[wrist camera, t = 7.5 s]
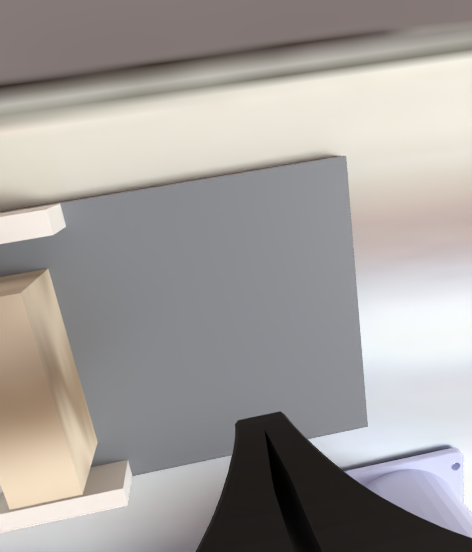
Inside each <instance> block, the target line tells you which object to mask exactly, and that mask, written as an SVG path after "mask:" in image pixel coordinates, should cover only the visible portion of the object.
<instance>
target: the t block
mask: <svg viewBox="0 0 472 552" xmlns="http://www.w3.org/2000/svg"><path fill="white" fill-rule="evenodd" d="M97 443H98V442H97V438H96V435H95V431H94V428H93V424H92V421H91V417H90V414H89V410H88V407H87V403H86V400H85V396H84V393H83V389H82V386H81V382H80V379H79V375H78V372H77V368H76V365H75V361H74V358H73V354H72V351H71V347H70V343H69V340H68V336H67V333H66V329H65V326H64V322H63V319H62V315H61V312H60V308H59V305H58V301H57V298H56V294H55V291H54V287H53V284H52V280H51V277H50V273H49V270H48V269H43V270H38V271H32V272H26V273H21V274H15V275H9V276H3V277H0V485H1V488H2V490H3V493H4V496H5V498H6V501H7V504H8V507H9V509H10V510H11V509H16V508H21V507H25V506H30V505H35V504H39V503H44V502H49V501H54V500H58V499H63V498H68V497H73V496H77V495H82V494H83V491H84V488H85V484H86V481H87V477H88V474H89V470H90V467H91V463H92V460H93V457H94V453H95V450H96V446H97Z"/></svg>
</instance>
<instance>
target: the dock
mask: <svg viewBox="0 0 472 552" xmlns="http://www.w3.org/2000/svg"><path fill="white" fill-rule="evenodd" d="M65 227H66V224H65V221H64V217H63V213H62V209H61V206H60V204H54V205H48V206H42V207H36V208H30V209H24V210H18V211H11V212H5V213H0V244H4V243H10V242H16V241H22V240H28V239H33V238H39V237H45V236H51V235H54V234H56V233H57V232H59V231H60V230H62V229H63V228H65ZM131 481H132V473H131V469H130V465H129V462H128V460H124V461H119V462H114V463H110V464H105V465H100V466H95V467H90V470H89V474H88V477H87V481H86V484H85V488H84V491H83V494H82V495H77V496H73V497H68V498H63V499H58V500H54V501H49V502H44V503H39V504H35V505H30V506H25V507H21V508H16V509H11V510H10V509H9V507H8V504H7V501H6V498H5V496H4V493H3V490H2V488H1V485H0V533H3V532H8V531H13V530H17V529H22V528H26V527H31V526H36V525H40V524H45V523H50V522H54V521H59V520H64V519H68V518H73V517H78V516H82V515H87V514H92V513H96V512H101V511H106V510H110V509H115V508H120V507H124V506H128V501H129V495H130V488H131Z"/></svg>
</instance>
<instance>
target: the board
mask: <svg viewBox="0 0 472 552" xmlns="http://www.w3.org/2000/svg"><path fill="white" fill-rule="evenodd" d="M54 204H60V206H61V209H62V213H63V217H64V221H65V224H66V227H65V228H63V229H62V230H60V231H59V232H57V233H56V234H54V235H51V236H45V237H39V238H33V239H28V240H22V241H16V242H10V243H4V244H0V277H3V276H9V275H15V274H21V273H26V272H32V271H38V270H43V269H48V270H49V273H50V277H51V280H52V284H53V287H54V291H55V294H56V298H57V301H58V305H59V308H60V312H61V315H62V319H63V322H64V326H65V329H66V333H67V336H68V340H69V343H70V347H71V351H72V354H73V358H74V361H75V365H76V368H77V372H78V375H79V379H80V382H81V386H82V389H83V393H84V396H85V400H86V403H87V407H88V410H89V414H90V417H91V421H92V424H93V428H94V431H95V435H96V438H97V442H98V443H97V446H96V450H95V453H94V457H93V460H92V463H91V467H95V466H100V465H105V464H110V463H114V462H119V461H124V460H128V462H129V465H130V469H131V473H132V476H135V475H139V474H144V473H149V472H154V471H158V470H163V469H168V468H173V467H177V466H182V465H187V464H192V463H196V462H201V461H206V460H211V459H215V458H220V457H225V456H230V455H232V453H233V448H234V441H235V424H236V422H237V421H238V420H241V419H246V418H251V417H256V416H260V415H265V414H270V413H275V412H279V411H281V412H282V413H284V414H285V415H286V416H287V418H288V419H289V420H290V421H291V422H292V424H293V425H294V426H295V427H296V428H297V429H298V430H299V431H300V432H301V433H302V434H303V435H304V436H305V437H306V438H307V439H311V438H315V437H320V436H325V435H330V434H334V433H339V432H344V431H349V430H353V429H358V428H363V427H368V423H367V411H366V399H365V386H364V374H363V361H362V349H361V336H360V324H359V311H358V299H357V286H356V274H355V261H354V249H353V236H352V224H351V212H350V199H349V187H348V174H347V162H346V156H336V157H330V158H324V159H318V160H312V161H306V162H300V163H294V164H288V165H282V166H276V167H270V168H264V169H258V170H252V171H246V172H240V173H234V174H228V175H221V176H215V177H209V178H203V179H197V180H191V181H185V182H179V183H173V184H167V185H161V186H155V187H149V188H143V189H137V190H131V191H125V192H119V193H113V194H107V195H101V196H94V197H88V198H82V199H76V200H70V201H64V202H58V203H52V204H46V205H40V206H34V207H28V208H22V209H16V210H10V211H4V212H0V213H5V212H11V211H18V210H24V209H30V208H36V207H42V206H48V205H54Z"/></svg>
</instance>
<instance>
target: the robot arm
mask: <svg viewBox="0 0 472 552" xmlns="http://www.w3.org/2000/svg"><path fill="white" fill-rule="evenodd" d="M454 463H455V464H454ZM453 464H454V465H453ZM452 465H453V466H452ZM196 552H472V513H471V511H470V510H469V509H468V508H467V506H466V505H465V504H464V457H463V454H462V453H461V452H460V451H459V449H457V448H449V449H445V450H440V451H436V452H431V453H426V454H422V455H417V456H412V457H408V458H403V459H399V460H394V461H389V462H385V463H380V464H376V465H371V466H366V467H362V468H357V469H353V470H348V471H343V470H342V469H340V468H339V467H338V466H337V465H335V464H334V463H333V462H332V461H331V460H329V459H328V458H327V457H326V456H325V455H324V454H323V453H321V452H320V451H319V450H318V449H317V448H316V447H315V446H314V445H313V444H312V443H311V442H310V441H309V440H308V439H307V438H306V437H305V436H304V435H303V434H302V433H301V432H300V431H299V430H298V429H297V428H296V427H295V426H294V425H293V424H292V422H291V421H290V420H289V419H288V418H287V416H286V415H285V414H284V413H282V412H281V411H279V412H275V413H270V414H265V415H260V416H256V417H251V418H246V419H241V420H238V421H237V422H236V424H235V441H234V448H233V453H232V458H231V462H230V467H229V471H228V474H227V478H226V481H225V484H224V487H223V490H222V494H221V497H220V499H219V502H218V505H217V507H216V510H215V512H214V515H213V517H212V519H211V522H210V524H209V526H208V528H207V530H206V532H205V534H204V536H203V538H202V540H201V542H200V544H199V546H198V548H197V550H196Z"/></svg>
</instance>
